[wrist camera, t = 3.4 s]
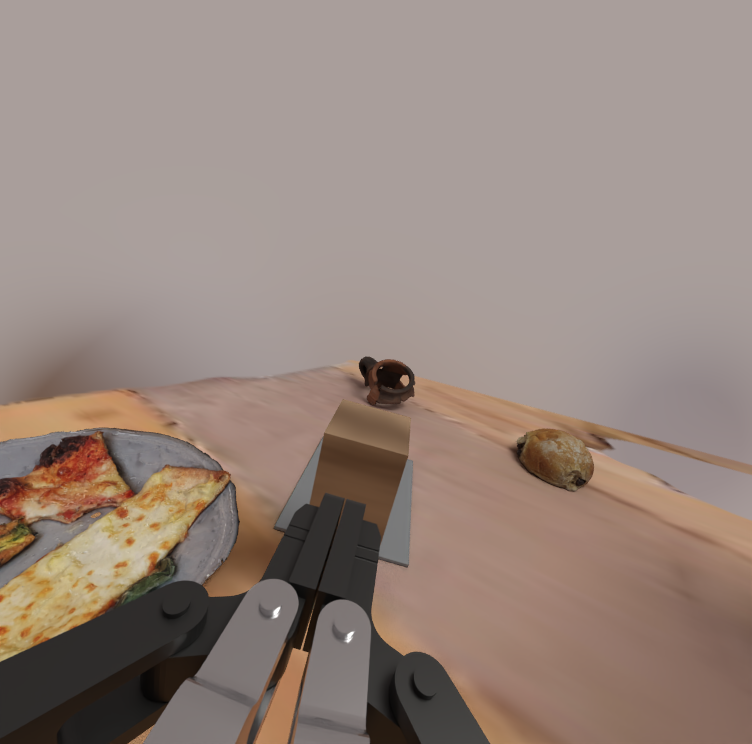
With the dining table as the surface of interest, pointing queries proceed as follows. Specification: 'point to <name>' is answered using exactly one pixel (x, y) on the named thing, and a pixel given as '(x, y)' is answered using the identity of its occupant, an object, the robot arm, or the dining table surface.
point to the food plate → (103, 526)
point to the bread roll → (556, 458)
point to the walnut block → (363, 459)
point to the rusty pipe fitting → (386, 380)
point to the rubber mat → (398, 523)
